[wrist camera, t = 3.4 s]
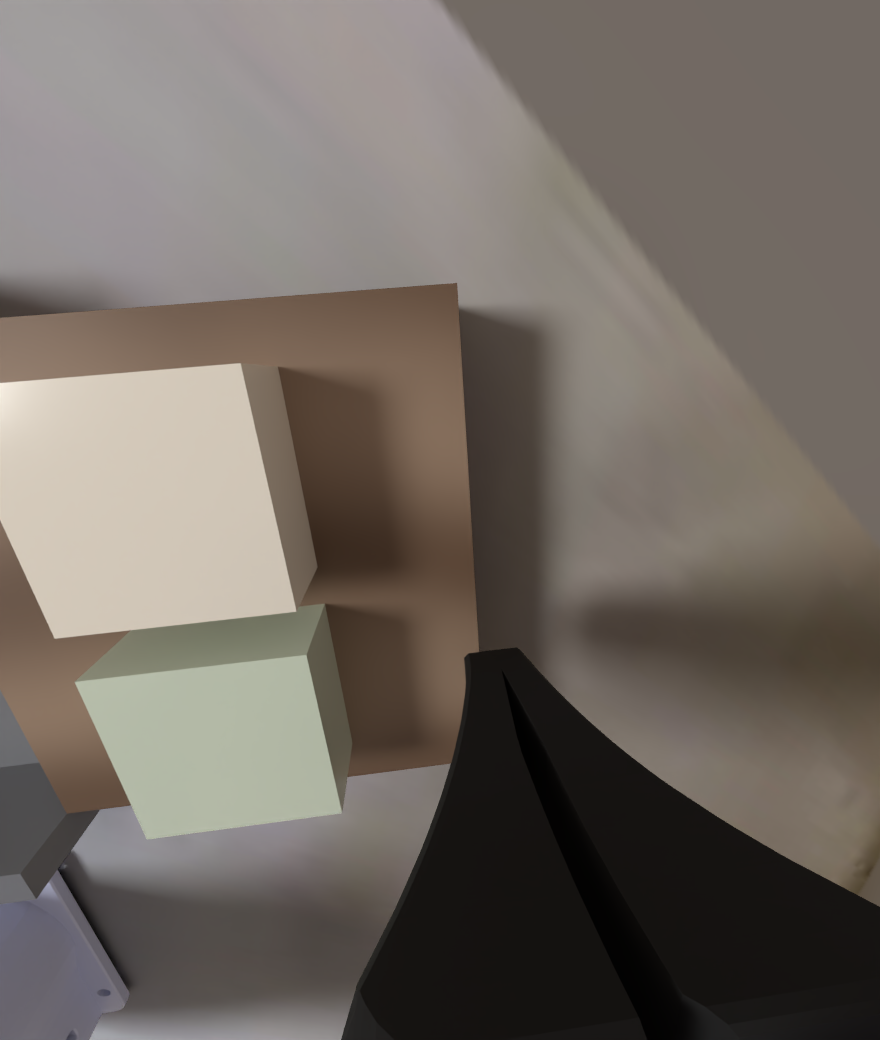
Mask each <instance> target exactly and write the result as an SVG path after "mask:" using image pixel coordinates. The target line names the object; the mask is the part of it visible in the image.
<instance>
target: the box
mask: <svg viewBox="0 0 880 1040" xmlns="http://www.w3.org/2000/svg"><path fill="white" fill-rule="evenodd" d="M99 810H100V809H99ZM99 810H91V811H84V812H76V813H68V814H67V813H66V811H65V809H64V807H63V806H62V804H61V802H60V800H59V798H58V796H57V794H56V793H55V791H54V789H53V787H52V785H51V783H50V781H49V780H48V778H47V776H46V774H45V772H44V770H43V768H42V767H41V765H40V763H39V761H38V759H37V757H36V755H35V753H34V752H33V750H32V748H31V746H30V744H29V742H28V740H27V739H26V737H25V735H24V733H23V731H22V729H21V727H20V726H19V724H18V722H17V720H16V718H15V716H14V714H13V713H12V711H11V709H10V707H9V705H8V703H7V701H6V699H5V698H4V696H3V694H2V692H1V690H0V904H6V903H14V902H21V901H28V900H35V899H37V898H38V896H39V895H40V893H41V892H42V891H43V889H44V888H45V886H46V885H47V883H48V882H49V881H50V879H51V878H52V876H53V875H54V874H55V872H56V871H57V869H58V868H59V867H60V865H61V864H62V862H63V861H64V860H65V858H66V857H67V855H68V854H69V853H70V851H71V850H72V848H73V847H74V845H75V844H76V843H77V841H78V840H79V838H80V837H81V836H82V834H83V833H84V831H85V830H86V829H87V827H88V826H89V824H90V823H91V822H92V820H93V819H94V817H95V816H96V815H97V813H98V812H99Z"/></svg>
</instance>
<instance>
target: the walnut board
mask: <svg viewBox="0 0 880 1040" xmlns="http://www.w3.org/2000/svg"><path fill="white" fill-rule="evenodd" d="M236 363H244V364H255V365H265V366H276V367H278V370H279V375H280V380H281V385H282V390H283V395H284V400H285V405H286V410H287V415H288V420H289V425H290V430H291V435H292V441H293V446H294V451H295V456H296V461H297V466H298V471H299V476H300V481H301V486H302V491H303V496H304V501H305V506H306V511H307V516H308V521H309V526H310V531H311V536H312V541H313V546H314V551H315V556H316V562H317V569H316V572H315V574H314V576H313V578H312V580H311V582H310V584H309V586H308V589H307V591H306V593H305V595H304V597H303V599H302V601H301V603H300V606H309V605H318V604H325V607H326V612H327V617H328V622H329V627H330V632H331V637H332V642H333V647H334V652H335V657H336V662H337V667H338V672H339V678H340V683H341V688H342V693H343V698H344V703H345V708H346V713H347V718H348V723H349V728H350V733H351V738H352V749H351V756H350V763H349V770H348V776H347V777H350V776H358V775H366V774H373V773H381V772H389V771H396V770H404V769H412V768H419V767H427V766H434V765H442V764H450V763H451V762H452V758H453V754H454V750H455V746H456V741H457V737H458V732H459V728H460V723H461V718H462V711H463V704H464V698H465V688H466V678H465V664H464V657H465V656H466V655H467V654H468V653H476V652H479V641H478V625H477V608H476V591H475V575H474V558H473V541H472V525H471V508H470V491H469V475H468V458H467V441H466V425H465V408H464V391H463V375H462V358H461V341H460V325H459V308H458V291H457V283H453V284H439V285H426V286H413V287H400V288H387V289H374V290H360V291H347V292H334V293H321V294H308V295H295V296H281V297H268V298H255V299H242V300H229V301H216V302H202V303H189V304H176V305H163V306H150V307H137V308H123V309H110V310H97V311H84V312H71V313H58V314H44V315H31V316H18V317H5V318H0V383H7V382H19V381H31V380H43V379H55V378H67V377H80V376H92V375H104V374H116V373H128V372H140V371H152V370H164V369H176V368H188V367H200V366H212V365H224V364H236ZM300 606H299V607H300ZM130 631H131V630H129V631H120V632H111V633H102V634H93V635H84V636H75V637H66V638H57V639H55V638H54V636H53V634H52V632H51V630H50V628H49V625H48V623H47V621H46V619H45V617H44V614H43V612H42V610H41V608H40V606H39V604H38V601H37V599H36V597H35V595H34V593H33V591H32V588H31V586H30V584H29V582H28V580H27V578H26V575H25V573H24V571H23V569H22V567H21V564H20V562H19V560H18V558H17V556H16V554H15V551H14V549H13V547H12V545H11V543H10V541H9V538H8V536H7V534H6V532H5V530H4V528H3V525H2V523H1V521H0V690H1V692H2V694H3V696H4V698H5V699H6V701H7V703H8V705H9V707H10V709H11V711H12V713H13V714H14V716H15V718H16V720H17V722H18V724H19V726H20V727H21V729H22V731H23V733H24V735H25V737H26V739H27V740H28V742H29V744H30V746H31V748H32V750H33V752H34V753H35V755H36V757H37V759H38V761H39V763H40V765H41V767H42V768H43V770H44V772H45V774H46V776H47V778H48V780H49V781H50V783H51V785H52V787H53V789H54V791H55V793H56V794H57V796H58V798H59V800H60V802H61V804H62V806H63V807H64V809H65V811H66V813H67V814H68V813H76V812H84V811H91V810H99V809H106V808H114V807H122V806H129V805H131V804H130V801H129V799H128V797H127V795H126V793H125V791H124V788H123V786H122V784H121V782H120V780H119V778H118V775H117V773H116V771H115V769H114V767H113V765H112V762H111V760H110V758H109V756H108V754H107V751H106V749H105V747H104V745H103V743H102V741H101V738H100V736H99V734H98V732H97V730H96V728H95V725H94V723H93V721H92V719H91V717H90V715H89V712H88V710H87V708H86V706H85V704H84V701H83V699H82V697H81V695H80V693H79V691H78V688H77V686H76V684H75V681H76V680H77V679H78V678H79V677H81V676H82V675H83V674H84V673H85V672H86V671H87V670H88V669H89V668H90V667H91V666H93V665H94V664H95V663H96V662H97V661H98V660H99V659H100V658H101V657H102V656H103V655H105V654H106V653H107V652H108V651H109V650H110V649H111V648H112V647H113V646H114V645H116V644H117V643H118V642H119V641H120V640H121V639H122V638H123V637H124V636H125V635H126V634H128V633H129V632H130Z"/></svg>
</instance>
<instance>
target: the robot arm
mask: <svg viewBox="0 0 880 1040" xmlns="http://www.w3.org/2000/svg"><path fill="white" fill-rule="evenodd" d="M464 664H465V678H466V688H465V698H464V704H463V711H462V718H461V723H460V728H459V732H458V737H457V741H456V746H455V750H454V754H453V758H452V762H451V765H450V769H449V772H448V776H447V779H446V782H445V785H444V789H443V792H442V795H441V798H440V801H439V804H438V806H437V809H436V812H435V815H434V818H433V820H432V823H431V826H430V829H429V831H428V834H427V837H426V839H425V842H424V844H423V847H422V849H421V852H420V854H419V856H418V858H417V861H416V863H415V865H414V868H413V870H412V872H411V874H410V877H409V879H408V881H407V884H406V886H405V888H404V891H403V893H402V895H401V897H400V900H399V902H398V904H397V906H396V908H395V910H394V912H393V915H392V917H391V919H390V921H389V923H388V925H387V927H386V928H385V930H384V932H383V934H382V936H381V938H380V940H379V942H378V944H377V946H376V948H375V950H374V952H373V954H372V956H371V958H370V960H369V962H368V964H367V966H366V968H365V970H364V972H363V974H362V976H361V978H360V980H359V982H358V984H357V987H356V991H355V994H354V998H353V1001H352V1004H351V1008H350V1011H349V1015H348V1018H347V1021H346V1025H345V1028H344V1032H343V1035H342V1039H341V1040H880V907H879V906H877V905H875V904H873V903H871V902H869V901H867V900H866V899H864V898H862V897H860V896H858V895H856V894H854V893H852V892H850V891H848V890H847V889H845V888H843V887H841V886H839V885H837V884H835V883H833V882H831V881H829V880H828V879H826V878H824V877H822V876H820V875H818V874H816V873H814V872H812V871H810V870H808V869H807V868H805V867H803V866H801V865H799V864H797V863H795V862H793V861H791V860H790V859H788V858H786V857H784V856H782V855H781V854H779V853H777V852H775V851H774V850H772V849H770V848H769V847H767V846H765V845H763V844H762V843H760V842H758V841H757V840H755V839H753V838H752V837H750V836H748V835H746V834H745V833H743V832H741V831H740V830H738V829H736V828H734V827H733V826H731V825H730V824H728V823H726V822H725V821H723V820H722V819H720V818H718V817H717V816H715V815H714V814H712V813H711V812H709V811H708V810H706V809H705V808H703V807H702V806H700V805H699V804H697V803H695V802H694V801H692V800H691V799H689V798H688V797H686V796H685V795H683V794H682V793H680V792H679V791H677V790H676V789H674V788H673V787H671V786H670V785H668V784H667V783H665V782H664V781H663V780H661V779H660V778H659V777H657V776H656V775H654V774H653V773H652V772H650V771H649V770H648V769H646V768H645V767H644V766H642V765H641V764H640V763H638V762H637V761H636V760H635V759H633V758H632V757H631V756H629V755H628V754H627V753H626V752H624V751H623V750H622V749H621V748H619V747H618V746H617V745H616V744H615V743H613V742H612V741H611V740H610V739H609V738H607V737H606V736H605V735H604V734H603V733H602V732H601V731H599V730H598V729H597V728H596V727H595V726H594V725H593V724H592V723H590V722H589V721H588V720H587V719H586V718H585V717H584V716H583V715H582V714H581V713H580V712H578V711H577V710H576V709H575V708H574V707H573V706H572V705H571V704H570V703H569V702H568V701H567V700H566V699H565V698H564V697H563V696H562V695H561V694H560V693H559V692H558V691H557V690H556V689H555V688H554V687H553V686H552V685H551V684H550V683H549V682H548V681H547V680H546V678H545V677H544V676H543V675H542V674H541V673H540V672H539V671H538V670H537V669H536V668H535V667H534V665H533V664H532V663H531V662H530V661H529V660H528V659H527V657H526V656H525V655H524V654H523V653H522V652H521V651H520V650H519V649H518V648H509V649H501V650H492V651H484V652H476V653H468V654H467V655H466V656H465V657H464ZM128 998H129V991H128V989H127V988H126V986H125V984H124V982H123V981H122V979H121V977H120V976H119V974H118V972H117V971H116V969H115V967H114V965H113V964H112V962H111V960H110V959H109V957H108V955H107V953H106V952H105V950H104V948H103V947H102V945H101V943H100V941H99V940H98V938H97V936H96V935H95V933H94V931H93V929H92V928H91V926H90V924H89V923H88V921H87V919H86V917H85V916H84V914H83V912H82V911H81V909H80V907H79V906H78V904H77V902H76V900H75V899H74V897H73V895H72V894H71V892H70V890H69V888H68V887H67V885H66V883H65V882H64V880H63V878H62V876H61V875H60V873H59V871H58V870H57V871H56V872H55V874H54V875H53V876H52V878H51V879H50V881H49V882H48V883H47V885H46V886H45V888H44V889H43V891H42V892H41V893H40V895H39V896H38V898H37V899H35V900H28V901H21V902H14V903H6V904H0V1040H89V1039H90V1037H91V1035H92V1033H93V1031H94V1029H95V1027H96V1024H97V1022H98V1020H99V1018H100V1016H101V1014H103V1013H110V1012H116V1011H119V1010H121V1009H122V1008H124V1006H125V1004H126V1002H127V1000H128Z"/></svg>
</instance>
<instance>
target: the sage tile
mask: <svg viewBox="0 0 880 1040" xmlns="http://www.w3.org/2000/svg"><path fill="white" fill-rule="evenodd" d="M75 684H76V686H77V688H78V691H79V693H80V695H81V697H82V699H83V701H84V704H85V706H86V708H87V710H88V712H89V715H90V717H91V719H92V721H93V723H94V725H95V728H96V730H97V732H98V734H99V736H100V738H101V741H102V743H103V745H104V747H105V749H106V751H107V754H108V756H109V758H110V760H111V762H112V765H113V767H114V769H115V771H116V773H117V775H118V778H119V780H120V782H121V784H122V786H123V788H124V791H125V793H126V795H127V797H128V799H129V801H130V804H131V806H132V808H133V810H134V812H135V815H136V817H137V819H138V821H139V823H140V825H141V828H142V830H143V832H144V834H145V836H146V838H147V839H155V838H162V837H169V836H177V835H184V834H192V833H199V832H206V831H214V830H221V829H229V828H236V827H243V826H251V825H258V824H266V823H273V822H280V821H288V820H295V819H303V818H310V817H317V816H325V815H332V814H340V813H342V810H343V804H344V797H345V790H346V783H347V776H348V770H349V763H350V756H351V749H352V738H351V733H350V728H349V723H348V718H347V713H346V708H345V703H344V698H343V693H342V688H341V683H340V678H339V672H338V667H337V662H336V657H335V652H334V647H333V642H332V637H331V632H330V627H329V622H328V617H327V612H326V607H325V604H318V605H309V606H300V607H299V608H298V610H297V612H290V613H281V614H272V615H263V616H254V617H245V618H236V619H227V620H218V621H209V622H200V623H191V624H182V625H173V626H164V627H155V628H147V629H138V630H131V631H130V632H129V633H128V634H126V635H125V636H124V637H123V638H122V639H121V640H120V641H119V642H118V643H117V644H116V645H114V646H113V647H112V648H111V649H110V650H109V651H108V652H107V653H106V654H105V655H103V656H102V657H101V658H100V659H99V660H98V661H97V662H96V663H95V664H94V665H93V666H91V667H90V668H89V669H88V670H87V671H86V672H85V673H84V674H83V675H82V676H81V677H79V678H78V679H77V680H76V681H75Z"/></svg>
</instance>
